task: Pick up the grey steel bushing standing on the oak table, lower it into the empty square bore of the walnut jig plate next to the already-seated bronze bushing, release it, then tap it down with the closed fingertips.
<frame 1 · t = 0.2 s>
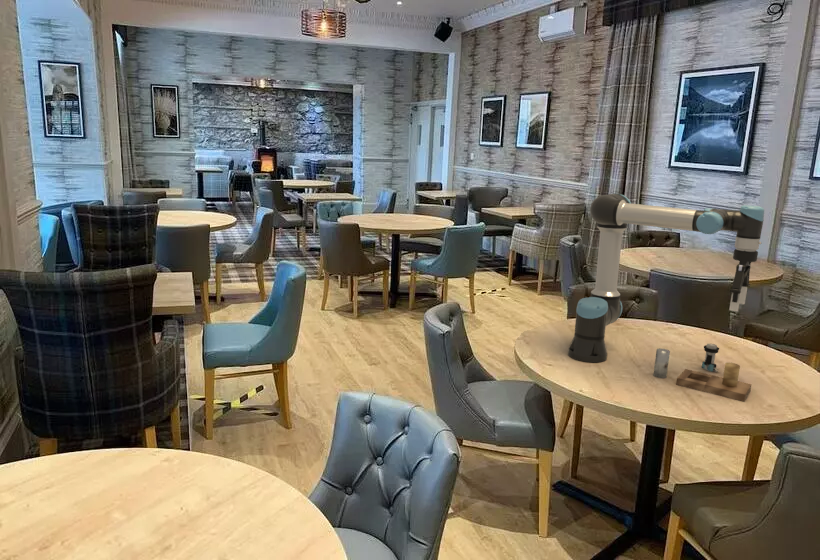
hand: (737, 307, 218), 27 cm above the table, fingers open, 13 cm apart
jig: (712, 387, 214), on the table
bushing: (659, 375, 224), on the table
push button: (709, 370, 232), on the table
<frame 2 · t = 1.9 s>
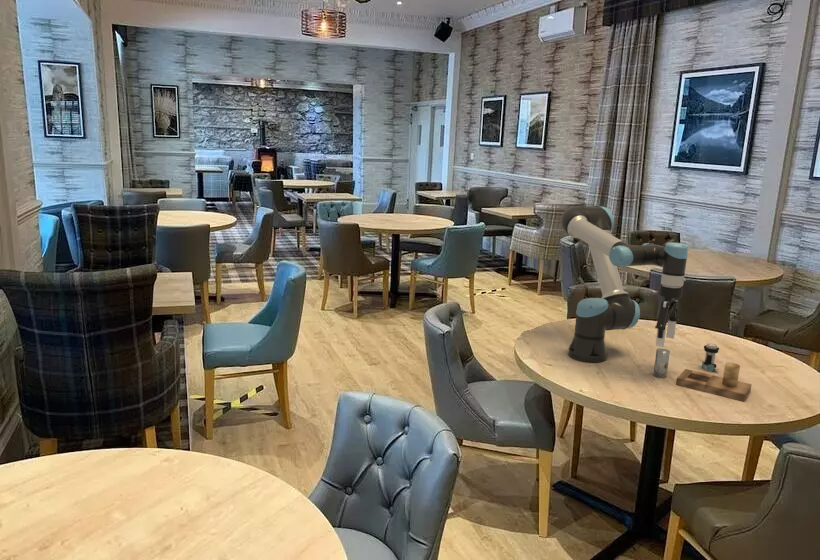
hand: (665, 342, 221), 13 cm above the table, fingers open, 13 cm apart
nothing on the table moved.
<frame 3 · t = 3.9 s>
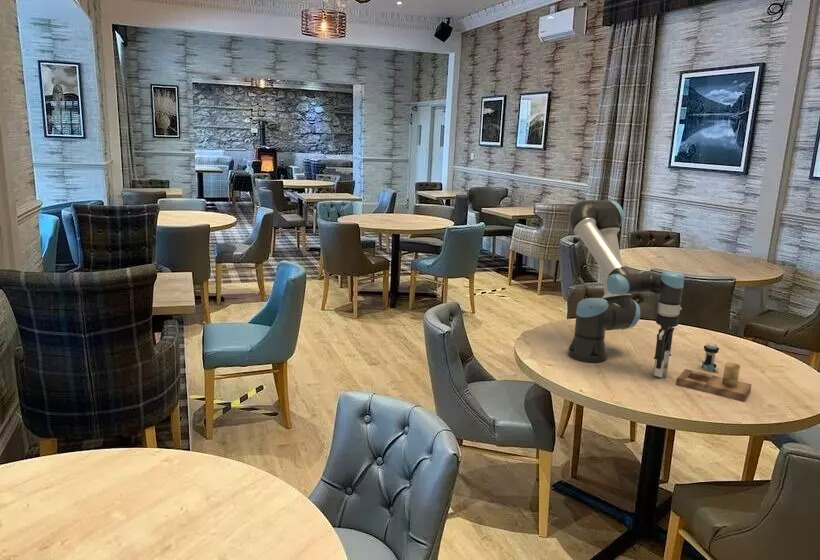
hand: (660, 374, 224), 1 cm above the table, fingers closed on bushing, 5 cm apart
bushing: (659, 375, 224), on the table, touching gripper
everything else where it was.
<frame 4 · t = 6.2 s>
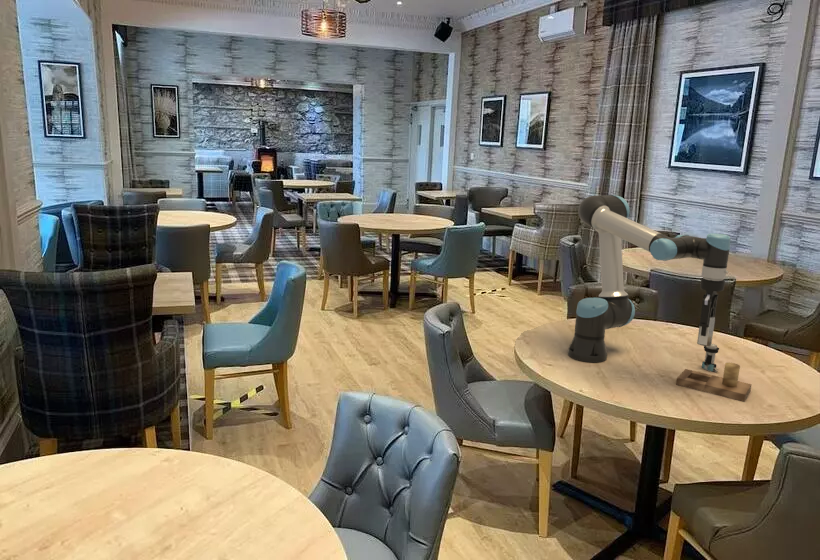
hand: (704, 342, 214), 16 cm above the table, fingers closed on bushing, 5 cm apart
bushing: (704, 344, 214), point 15 cm above the table, touching gripper
everything else where it was.
when the fingers open (3 cm above the table, at t = 8.5 s): bushing drops 2 cm, resting in jig.
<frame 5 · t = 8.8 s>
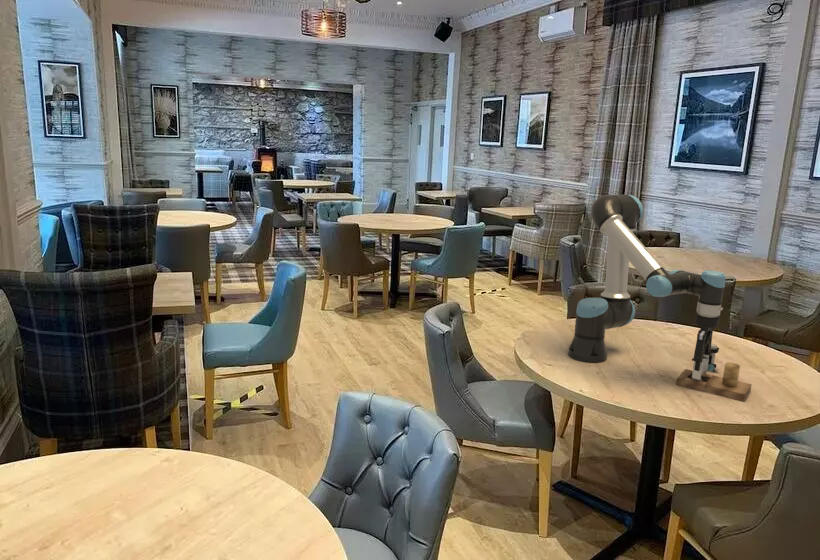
hand: (699, 375, 217), 4 cm above the table, fingers open, 8 cm apart
bushing: (697, 384, 217), resting in jig
everything else where it was.
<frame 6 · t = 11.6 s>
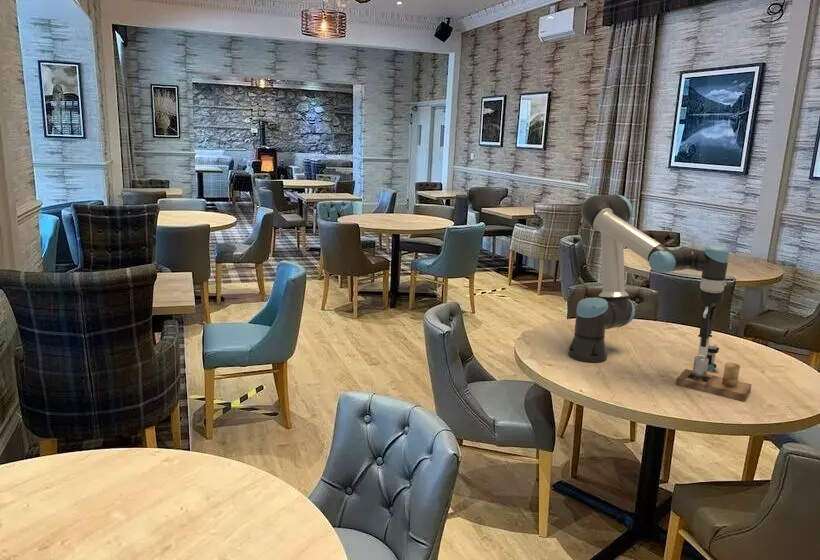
hand: (702, 354, 215), 11 cm above the table, fingers closed
nothing on the table moved.
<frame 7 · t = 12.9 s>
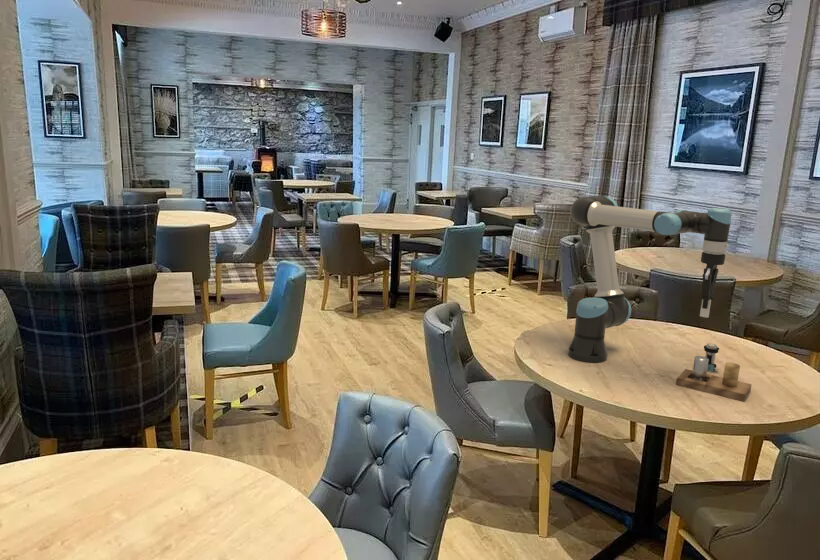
hand: (704, 316, 217), 24 cm above the table, fingers closed
nothing on the table moved.
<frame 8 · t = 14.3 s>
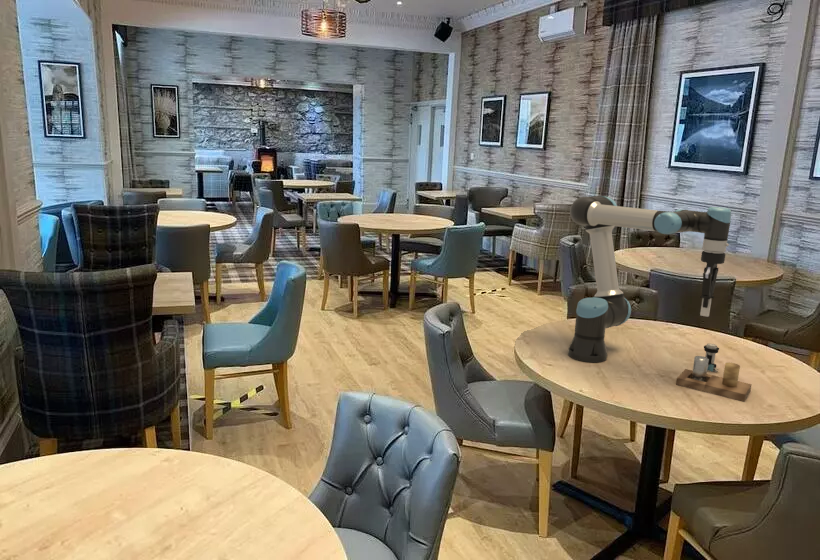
hand: (704, 315, 217), 24 cm above the table, fingers closed
nothing on the table moved.
at the end: bushing 0.0 cm from the target spot on the jig, point 0.0 cm above the jig's base; bushing tilted 0°; the gripper is holding nothing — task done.
